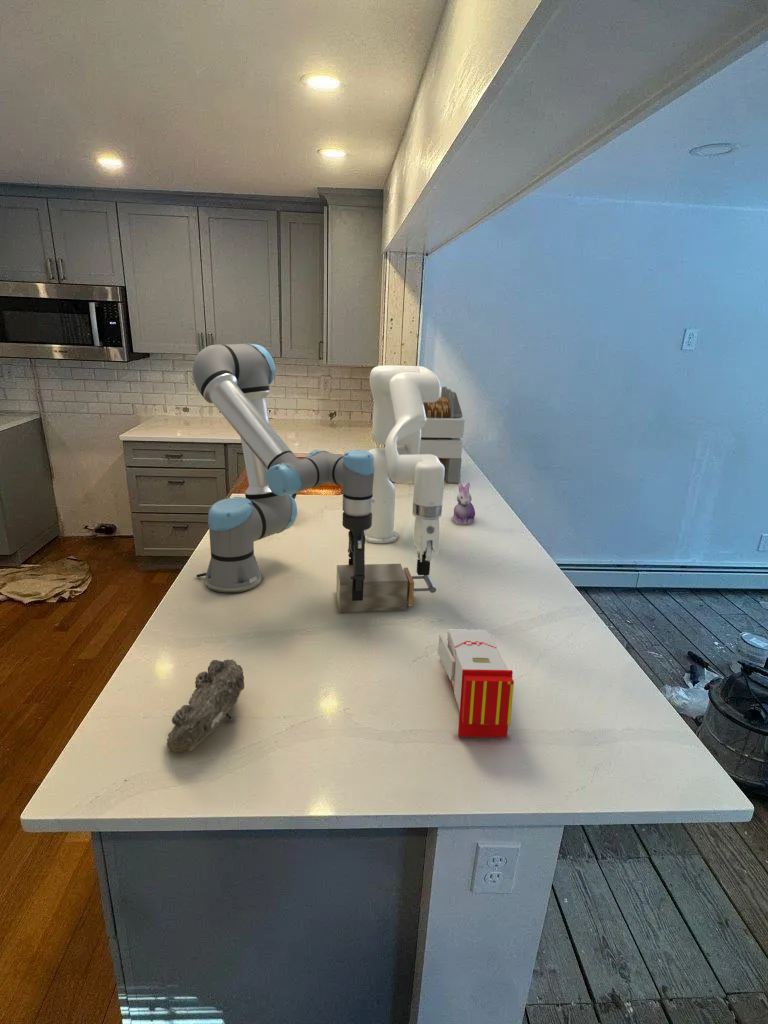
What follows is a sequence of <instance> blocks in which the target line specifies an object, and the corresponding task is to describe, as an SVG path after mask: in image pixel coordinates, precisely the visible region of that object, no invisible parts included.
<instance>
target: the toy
mask: <svg viewBox="0 0 768 1024" xmlns="http://www.w3.org/2000/svg"><path fill="white" fill-rule="evenodd" d="M446 640H447V643H446V641H445V639H444V636H443V635H442V634H439V637H438V646H437V656H438V657H439V659H440V661H441V663H442V666H443V668H444V670H445V672H446V674H447V677H448V679H449V681H450V684H451V687H452V690H453V693H454V697H455V701H456V705H457V708H458V711H459V714H458V715H459V716H458V730H457V731H458V732H457V737H458V738H508V731H509V726H510V725H511V717H512V707H513V697H514V696H513V695H514V684H515V680H514V679H513V673H514V671H513V670H512V669H508V667H507V665H506V662H505V661H504V659H503V658H502V655H501V653H500V651H499V649H498V647H497V643H496V639H495V637H494V635H493V634H491V632H490V631H489V629H467V628H466V629H465V628H463V629H461V628H460V629H459V628H448V630H447V639H446Z"/></svg>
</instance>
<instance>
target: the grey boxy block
mask: <svg viewBox="0 0 768 1024" xmlns="http://www.w3.org/2000/svg"><path fill="white" fill-rule="evenodd" d="M403 569H404V567H403V565H402V563H372V564H371V563H369V564H368V563H367V564H366V563H365V580H364V582H363V600H362V601H352V586H353V579H351V576H354V571H353V565H349V564H336V592H335V593H336V600H337V606H338V613H341V614H342V613H362V612H363V613H365V612H366V613H367V612H389V611H406V610H407V585H408V580H407V577H406V575H405V573H404V570H403Z"/></svg>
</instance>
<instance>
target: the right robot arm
mask: <svg viewBox="0 0 768 1024" xmlns="http://www.w3.org/2000/svg"><path fill="white" fill-rule="evenodd" d="M369 388H370V392H371V395H372V399H373V410H372V425H371V426H372V427H371V436H372V440H373V442H374V443H375V444H378V445H381V446H380V447H379V446H377V447H373V448H371V449H369V450H368V452H370V453H371V454H372V455H373V457H374V479H373V499H374V500H375V502H374V503H372V511H371V513H372V526H371V527H370V528H369V529H367V530H364V535H365V542H368V543H373V544H389V543H393V542H395V541H397V540H398V537H399V534H398V532H397V531H396V530H395V528H394V527H395V510H396V509H395V508H396V507H395V506H396V491H397V490H396V486H395V484H413V494H412V495H413V496H412V497H413V498H412V516H413V517H415V518H414V526H413V542H414V545H415V547H416V549H417V559H416V573H417V576H424V575H429V576H430V574H431V573H430V571H431V561H432V552H433V553H434V555H436V556H437V555H439V554H440V518H441V517H442V513H443V499H444V485H445V478H444V474H445V468H444V466H443V464H441V463H440V461H439V459H438V458H437V457H436V456H435V455H431V454H420V455H419V451H420V442H421V428H422V427H423V426H424V425H425V424H426V414H425V410H424V405H423V403H432V402H436V401H437V400H438V399H439V397H441V392H442V387H441V381H440V379H439V378H438V376H437V374H436V373H435V372H433V370H430V369H428V368H427V367H425V366H421V365H398V364H397V365H395V364H394V365H393V364H388V365H387V364H386V365H383V364H382V365H377V366H374V367H373V368H372V369H371V371H370V373H369ZM384 445H385V447H384ZM396 445H405V446H404V447H397V446H396ZM389 477H390V478H389ZM390 479H391V480H392V481H393V482H391V480H390ZM394 483H395V484H394Z"/></svg>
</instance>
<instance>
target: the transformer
mask: <svg viewBox="0 0 768 1024" xmlns="http://www.w3.org/2000/svg"><path fill="white" fill-rule="evenodd" d="M423 405H424V410H425V414H426V424H425V425H424V426H423V427H422V428H421V442H420V451H419V455H420V454H431V455H435V456H436V457H437V458H438V459H439V461H440V463H441V464H443V466H444V468H445V474H444V480H445V481H446V482H447V483H449V484H455V483H456V484H459V483H461V472H462V461H463V460H462V453H463V442H464V441H463V440H462V439H463V438H464V431H465V430H464V429H465V419H464V418H463V411H462V408H461V405H460V402H459V398H458V395H457V392H455V391H453V390H452V389H451V388H447V386H442V387H441V393H440V397H439V399H438V400H437V401H436V402H432V403H423ZM396 446H397V447H404V446H405V445H396ZM383 447H385V445H383ZM389 480H390V481H391V482H392V483H394V482H393V481H392V480H391V479H390V477H389Z"/></svg>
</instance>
